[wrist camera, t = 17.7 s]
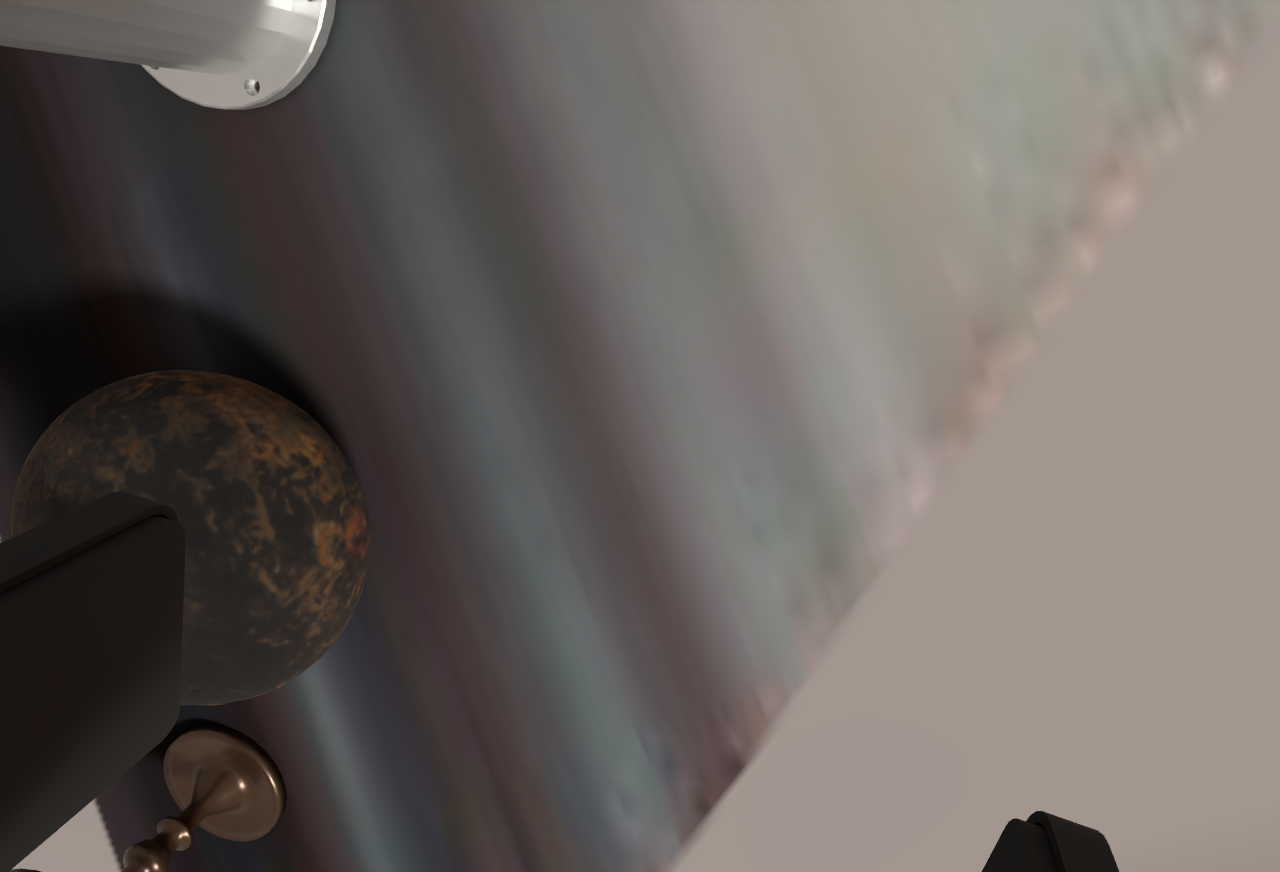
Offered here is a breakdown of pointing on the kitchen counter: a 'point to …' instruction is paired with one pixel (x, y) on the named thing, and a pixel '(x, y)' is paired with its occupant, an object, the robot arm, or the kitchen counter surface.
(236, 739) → the candlestick
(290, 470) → the dark brown vase
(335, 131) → the kitchen counter surface
